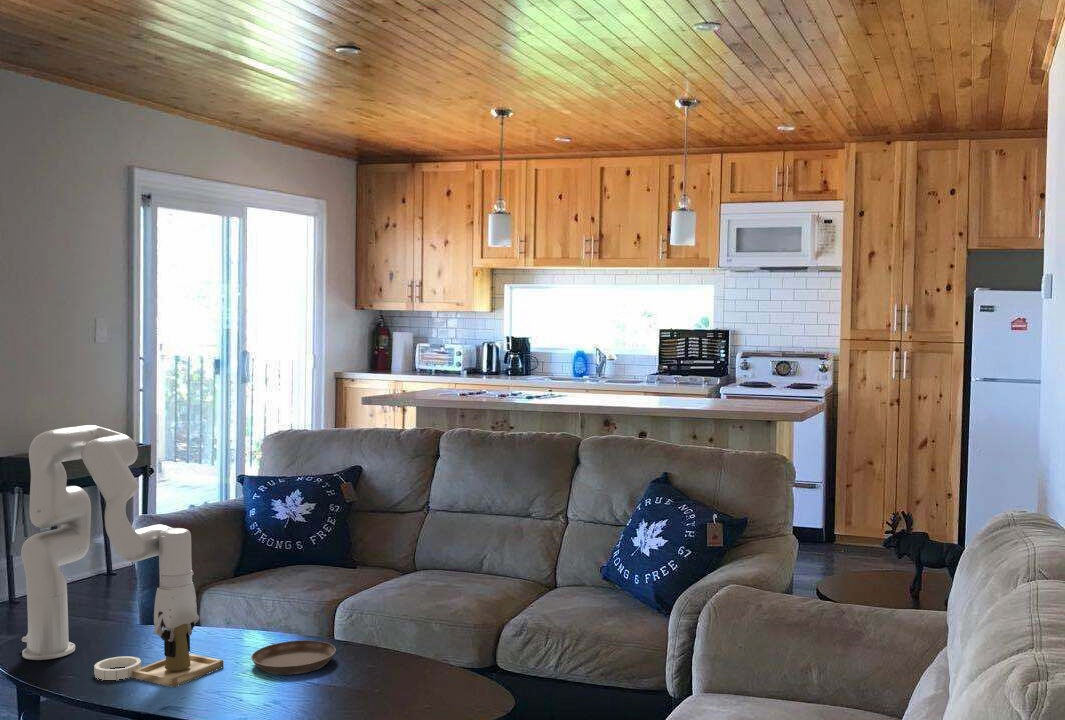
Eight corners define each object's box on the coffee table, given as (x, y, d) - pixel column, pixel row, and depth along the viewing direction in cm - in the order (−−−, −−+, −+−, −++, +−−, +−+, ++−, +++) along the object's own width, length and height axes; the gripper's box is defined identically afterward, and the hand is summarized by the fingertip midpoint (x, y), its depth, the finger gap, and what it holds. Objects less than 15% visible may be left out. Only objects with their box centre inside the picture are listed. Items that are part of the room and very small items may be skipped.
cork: (182, 671, 262) (181, 626, 262) (160, 669, 264) (159, 624, 263) (195, 662, 268) (194, 619, 268) (173, 661, 270) (172, 617, 269)
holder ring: (85, 676, 264) (85, 666, 264) (120, 663, 273) (120, 654, 273) (115, 683, 259) (115, 673, 259) (150, 670, 268) (150, 660, 268)
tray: (132, 678, 262) (132, 671, 262) (182, 659, 276) (182, 652, 276) (174, 687, 256) (174, 679, 256) (223, 667, 270) (223, 660, 270)
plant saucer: (234, 673, 266) (233, 659, 266) (283, 648, 285) (283, 636, 285) (305, 683, 259) (305, 669, 258) (351, 657, 278) (351, 644, 278)
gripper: (190, 570, 274) (191, 642, 275) (137, 585, 259) (139, 661, 260) (212, 574, 270) (213, 646, 271) (160, 589, 256) (162, 666, 257)
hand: (177, 652), depth 266 cm, fingers closed on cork, 3 cm apart
